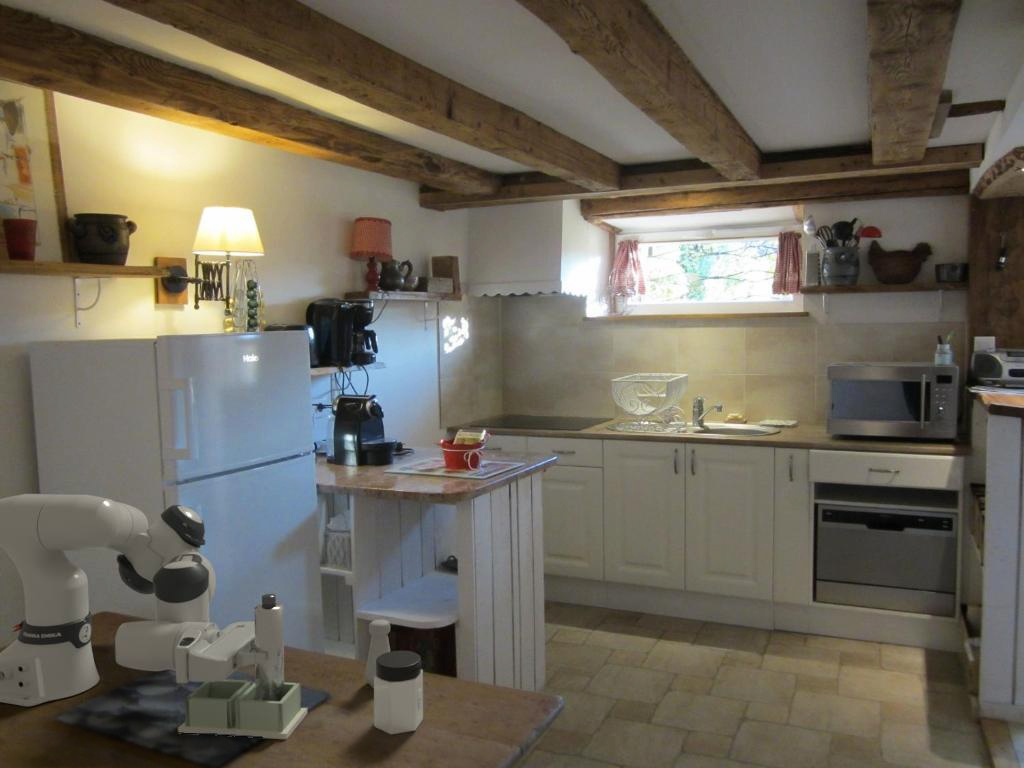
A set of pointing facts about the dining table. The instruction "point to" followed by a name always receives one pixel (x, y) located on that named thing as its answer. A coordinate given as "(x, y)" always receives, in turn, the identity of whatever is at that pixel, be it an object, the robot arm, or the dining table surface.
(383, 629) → the salt shaker
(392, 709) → the jar
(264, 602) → the pepper mill
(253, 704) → the green divided tray
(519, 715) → the dining table surface
